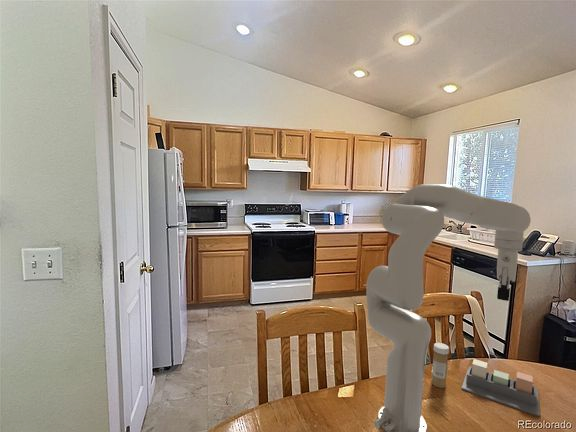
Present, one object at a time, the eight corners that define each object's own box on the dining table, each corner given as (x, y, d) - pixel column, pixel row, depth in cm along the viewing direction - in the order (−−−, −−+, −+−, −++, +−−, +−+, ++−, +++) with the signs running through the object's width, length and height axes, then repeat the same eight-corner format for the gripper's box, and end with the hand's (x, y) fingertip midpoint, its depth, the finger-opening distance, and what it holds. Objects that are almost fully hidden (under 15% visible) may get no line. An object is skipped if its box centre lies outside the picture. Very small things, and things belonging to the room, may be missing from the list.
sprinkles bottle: (448, 384, 106) (451, 345, 105) (443, 390, 103) (446, 350, 102) (434, 378, 109) (437, 340, 108) (428, 383, 106) (431, 345, 105)
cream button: (485, 381, 104) (486, 368, 104) (471, 376, 106) (472, 363, 106) (486, 375, 107) (487, 362, 107) (472, 371, 110) (473, 358, 109)
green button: (507, 393, 101) (508, 379, 100) (492, 388, 103) (493, 375, 103) (507, 387, 104) (508, 374, 103) (493, 382, 106) (494, 369, 106)
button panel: (539, 416, 92) (540, 405, 92) (461, 389, 104) (462, 378, 104) (537, 392, 103) (538, 381, 103) (467, 370, 115) (468, 360, 115)
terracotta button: (531, 396, 97) (532, 382, 97) (515, 391, 99) (516, 377, 99) (531, 389, 100) (532, 376, 100) (515, 384, 103) (516, 371, 102)
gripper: (522, 249, 96) (516, 308, 97) (522, 243, 108) (517, 296, 109) (492, 246, 100) (487, 302, 102) (496, 240, 112) (491, 291, 114)
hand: (502, 299), depth 106 cm, fingers closed
